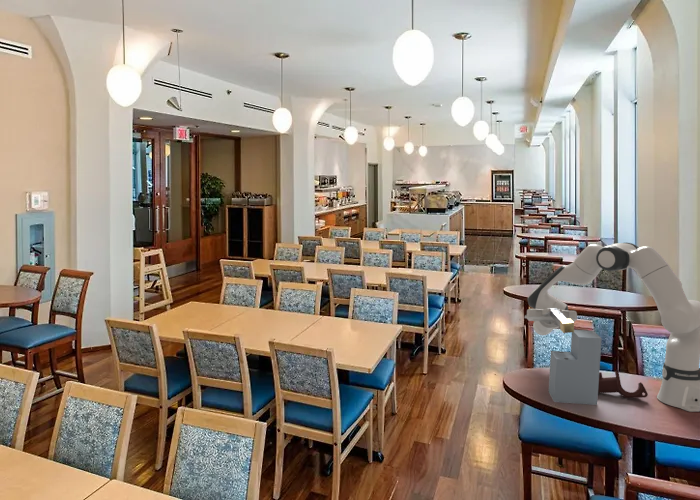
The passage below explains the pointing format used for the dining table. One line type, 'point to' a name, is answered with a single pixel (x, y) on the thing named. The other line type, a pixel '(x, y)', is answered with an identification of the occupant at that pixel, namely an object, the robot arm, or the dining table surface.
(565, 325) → the bar
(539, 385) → the dining table surface
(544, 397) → the dining table surface
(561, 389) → the stepped stand
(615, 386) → the bracket
